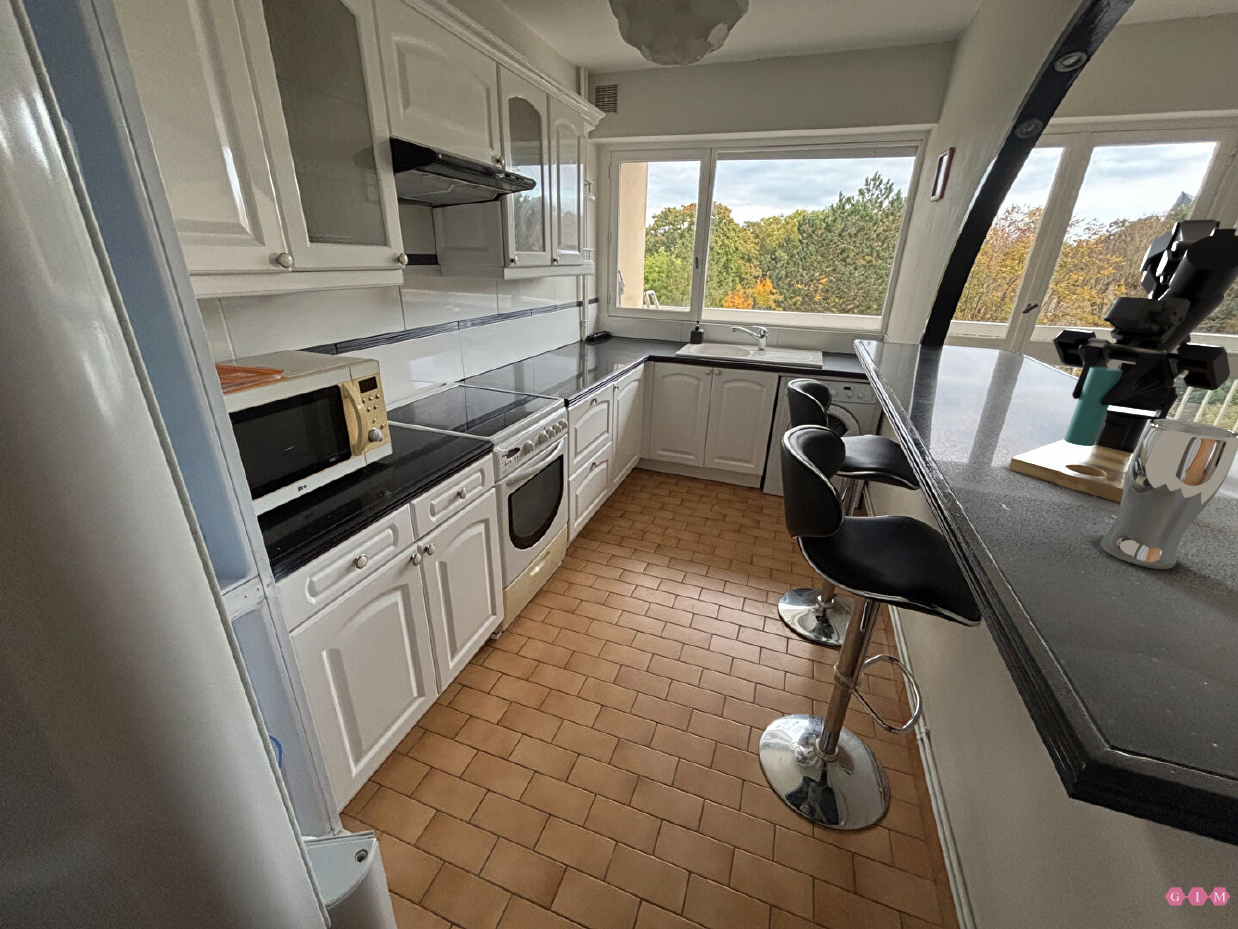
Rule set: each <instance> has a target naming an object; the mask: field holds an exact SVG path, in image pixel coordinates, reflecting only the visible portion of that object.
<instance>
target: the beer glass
mask: <svg viewBox="0 0 1238 929" xmlns="http://www.w3.org/2000/svg"><path fill="white" fill-rule="evenodd" d="M1237 452H1238V432H1237V431H1235V430H1233V429H1229V428H1225V427H1223V426H1218V425H1213V424H1209V423H1203V422H1197V421H1192V420H1183V419H1176V418H1175V419H1173V418H1166V419H1153V420H1150V419H1149V421H1148V425H1147V426H1146V428H1145V429H1144V431H1143V432H1142V435H1141V437H1140V439H1139V442H1138V444H1137V446H1136V448H1135V450H1134V452H1133V455H1132V457H1131V459H1130V462H1129V465H1128V468H1127V472H1126V476H1125V480H1124V486H1123V492H1122V498H1121V503H1120V505H1119V510H1118V513H1117V516H1116V518H1115V521H1114V523H1113V524H1112V525H1111V527H1110V529H1109V530H1108V531H1107V532H1106V534H1105V536H1104V537H1103V538H1102V540H1101V541H1100V547H1101V548H1102V550H1103V551H1105V552H1106V553H1107V554H1109V555H1110V556H1112V557H1114V558H1117V559H1118V560H1121V561H1124V562H1126V563H1129V564H1132V565H1134V566H1138V567H1144V568H1148V569H1155V570H1170V569H1172V568H1174V567H1176V563H1177V559H1178V554H1179V548H1180V545H1181V541H1182V540H1183V538H1184V535H1185V534H1186V532H1187V530H1188V529H1189V527H1190V526H1191V525H1192V524H1193V523H1194V521H1195V520H1196V519H1197V518H1198V517H1199V515H1200V514H1201V513H1202V512H1203V511H1204V509H1205V508H1206V507H1207V506H1208V505H1209V503H1210V502H1211V501H1212V500H1213V498H1214V497H1215V495H1216V494H1217V493H1218V491H1219V490H1220V489H1221V487H1222V485H1223V483H1224V481H1225V480H1226V478H1227V476H1228V474H1229V472H1230V470H1231V467H1232V465H1233V463H1234V460H1235V458H1236V457H1235V456H1236V455H1237Z"/></svg>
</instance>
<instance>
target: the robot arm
mask: <svg viewBox="0 0 1238 929" xmlns="http://www.w3.org/2000/svg"><path fill="white" fill-rule="evenodd" d="M1220 226H1221V220H1216V219H1214V218H1213V219H1211V218H1210V219H1183V220H1181V221H1176V222H1175V224H1174V226H1173V227H1172V228H1171V230H1169V231H1167V232H1166V233H1164V234H1162V235H1160V236H1158V237H1156V238H1154V239H1153V240H1152V241H1151V243H1150V245H1149V246H1148V249H1147V251H1146V253H1145V255H1144V258H1143V259H1142V260H1143V261H1142V263H1141V265H1140V268H1139V272H1143V275H1142V278H1141V282H1140V286H1141V287H1142V288H1143V289H1144V291H1145V292H1146V293H1147V294H1148V297H1135V296H1134V297H1132V296H1118V297H1117V298H1116V299H1115V301H1114V302H1113V304H1112V306H1111V307H1110V308H1109V310H1108V312H1106V314H1105V315H1104V318H1103V321H1104V322H1106V323H1109V324H1110V325H1111V326H1112V327H1113V328H1112V330H1111V331H1110V337H1111V339H1115V341H1114V343H1113V342H1111V341H1109V339H1104V338H1098V337H1097V335H1096V332H1095V331H1089V330H1081V329H1071V328H1065V329H1063V330H1061V331H1060V332H1059V333H1058V334H1057V335H1056V336H1055V337H1054V338H1053V339H1052V342H1053V345H1054V347H1055V350H1056V352H1057V354H1058V357H1059V360H1060V363H1062V364H1063V365H1065V366H1068V367H1075V368H1079V369H1081V372H1080V373H1079V377H1078V379H1077V381H1076V384H1075V386H1074V388H1073V390H1072V398H1073V399H1074V400H1079V397H1080V394H1081V391H1082V389H1083V386H1084V383H1085V380H1086V378H1087V375H1088V372H1089V370H1090V367H1108V365H1109V363H1111V362H1118V363H1120V364H1119V365H1118V366H1117V368H1116V369H1120V370H1122V371H1123V372H1122V374H1121V377H1120V379H1119V382H1118V383H1117V384H1116V385H1115V386H1114V387H1113V388H1112V389H1111V390H1110V391H1109V392H1108V393H1107V394H1106V395H1105V396H1104V397H1103V399H1102V400H1101V403H1102V405H1104V406H1107V405H1109V404H1110V405H1109V408H1108V410H1107V413H1106V415H1105V418H1104V420H1103V423H1102V425H1101V428H1100V431H1099V433H1098V436H1097V438H1096V441H1095V443H1094V445H1098V446H1102V447H1106V448H1110V449H1114V450H1119V451H1123V452H1127V453H1131V454H1133V452H1134V450H1135V448H1136V446H1137V444H1138V442H1139V440H1140V439H1141V437H1142V435H1143V433H1144V431H1145V427H1146V425H1147V422H1148V420H1149V421H1150V420H1153V419H1167V416H1168V414H1169V412H1170V410H1171V408H1172V407H1173V406H1174V404H1175V403H1176V401H1177V399H1178V397H1179V395H1178V394H1177V385H1176V382H1175V380H1177V378H1178V377H1179V376H1183V375H1184V374H1185V372H1186V371H1187V374H1186V375H1185V376H1183V378H1182V379H1183V382H1184V384H1185V386H1186V387H1189V388H1194V389H1201V390H1205V391H1215V390H1218V389H1219V388H1220V387H1222V386H1223V384H1224V383H1226V381H1227V380H1228V379H1229V377H1230V374H1231V370H1230V363H1229V357H1228V352H1227V350H1226V348H1225V346H1221V345H1211V344H1203V343H1194V342H1191V341H1192V339H1191V334H1192V332H1193V331H1194V330H1195V329H1197V328H1198V326H1199V325H1201V324H1202V323H1203V322H1204V321H1205V320H1206V319H1207V318H1208V317H1210V315H1211V314H1212V313H1213V312H1214V311H1215V310H1216V309H1217V308H1218V307H1219V306H1220V305H1222V304H1223V302H1224V300H1225V294H1226V293H1227V292H1228V291H1229V290H1230V288H1231V287H1232V285H1233V284H1234V282H1235V281H1236V280H1237V278H1238V235H1237V234H1236V233H1237V227H1236V228H1220ZM1175 349H1176V353H1175V352H1173V351H1174V350H1175Z"/></svg>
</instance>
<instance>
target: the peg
mask: <svg viewBox="0 0 1238 929" xmlns="http://www.w3.org/2000/svg"><path fill="white" fill-rule="evenodd" d="M1122 372H1123V371H1122V370H1120V369H1117V368H1115V367H1108V366H1107V367H1090V370H1089V372H1088V375H1087V378H1086V380H1085V383H1084V386H1083V389H1082V391H1081V394H1080V397H1079V398H1078V399H1077V402H1076V405H1075V408H1074V410H1073V414H1072V417H1071V418H1070V419H1071V420H1070V421H1069V425H1068V426H1067V429H1066V433H1065V435H1064V438H1063V440H1064V441H1065V442H1067V443H1070V444H1073V445H1078V446H1087V447H1090V446H1094V443H1095V441H1096V438H1097V436H1098V433H1099V431H1100V428H1101V425H1102V423H1103V420H1104V418H1105V415H1106V413H1107V410H1108V408H1109V405H1110V404H1109V405H1107V406H1104V405H1102V403H1101V400H1102V399H1103V397H1104V396H1105V395H1106V394H1107V393H1108V392H1109V391H1110V390H1111V389H1112V388H1113V387H1114V386H1115V385H1116V384H1117V383H1118V382H1119V379H1120V377H1121V374H1122Z"/></svg>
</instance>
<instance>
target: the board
mask: <svg viewBox="0 0 1238 929" xmlns="http://www.w3.org/2000/svg"><path fill="white" fill-rule="evenodd" d="M1132 455H1133V454H1131V453H1127V452H1123V451H1119V450H1114V449H1110V448H1106V447H1102V446H1098V445H1094V446H1090V447H1087V446H1078V445H1073V444H1070V443H1067V442H1065V441H1064V439H1062V440H1059V441H1056V442H1053V443H1050V444H1047V445H1045V446H1042V447H1039V448H1036V449H1033V450H1029V451H1028V452H1024V453H1021V454H1019V455H1016V456H1013V457H1011V460H1010V463H1009V465H1008V470H1010V471H1013V472H1017V473H1020V474H1023V475H1027V476H1029V477H1033V478H1036V479H1040V480H1043V481H1047V482H1050V483H1053V484H1056V485H1058V486H1060V487H1063V488H1066V489H1070V490H1073V491H1077V492H1082V493H1086V494H1089V495H1093V496H1096V497H1099V498H1103V499H1107V500H1110V501H1112V502H1116V503H1120V504H1121V498H1122V492H1123V486H1124V480H1125V476H1126V472H1127V468H1128V465H1129V462H1130V459H1131V457H1132Z"/></svg>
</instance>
